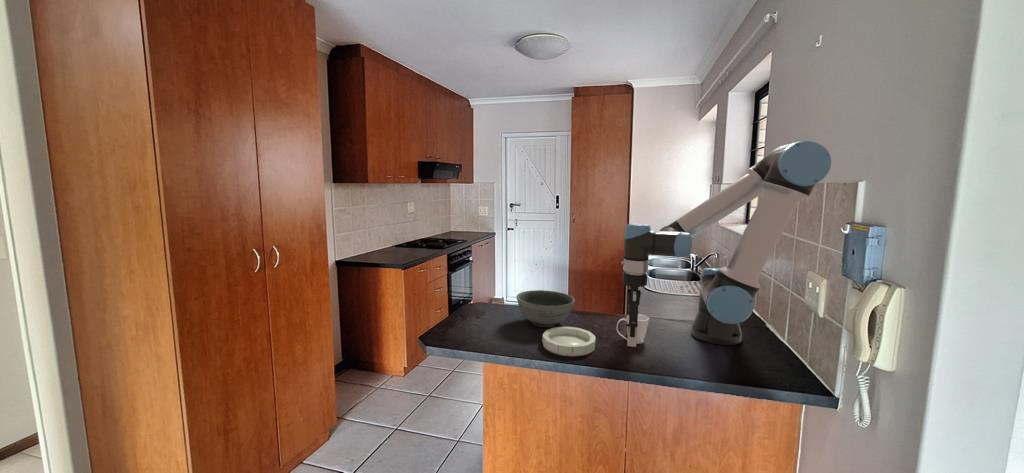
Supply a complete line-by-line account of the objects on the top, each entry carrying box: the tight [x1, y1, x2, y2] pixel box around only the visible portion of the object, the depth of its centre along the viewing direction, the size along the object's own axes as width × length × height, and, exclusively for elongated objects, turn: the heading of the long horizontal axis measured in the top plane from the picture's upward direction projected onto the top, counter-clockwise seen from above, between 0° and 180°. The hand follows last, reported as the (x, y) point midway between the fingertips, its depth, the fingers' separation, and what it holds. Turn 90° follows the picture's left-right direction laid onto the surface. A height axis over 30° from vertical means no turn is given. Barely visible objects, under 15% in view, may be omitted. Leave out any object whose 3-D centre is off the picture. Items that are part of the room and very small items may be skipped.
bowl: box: [515, 289, 576, 328], centre depth 146 cm, size 21×21×10 cm
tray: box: [542, 326, 597, 357], centre depth 127 cm, size 16×16×3 cm
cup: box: [615, 313, 650, 345], centre depth 131 cm, size 7×10×8 cm
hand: (631, 339), depth 132 cm, fingers open, 10 cm apart
